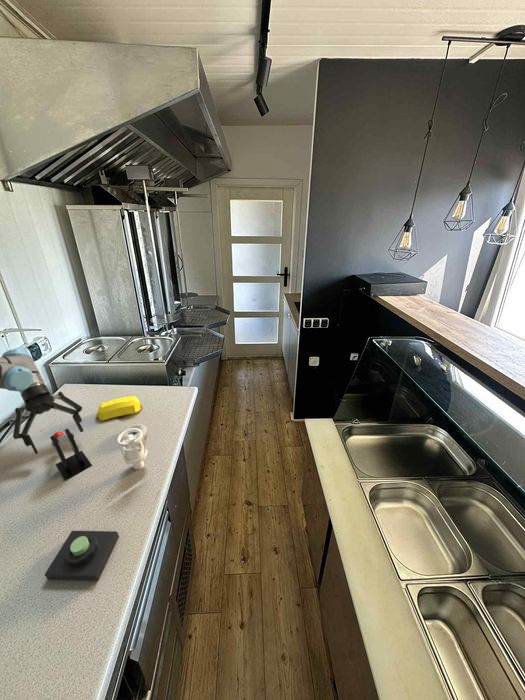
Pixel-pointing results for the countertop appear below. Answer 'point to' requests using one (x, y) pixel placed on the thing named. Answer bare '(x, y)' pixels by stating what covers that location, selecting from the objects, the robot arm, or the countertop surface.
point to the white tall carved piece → (133, 448)
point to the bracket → (70, 458)
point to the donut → (139, 426)
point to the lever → (61, 438)
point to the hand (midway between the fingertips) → (60, 441)
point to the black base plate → (83, 557)
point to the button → (79, 546)
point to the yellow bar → (118, 407)
